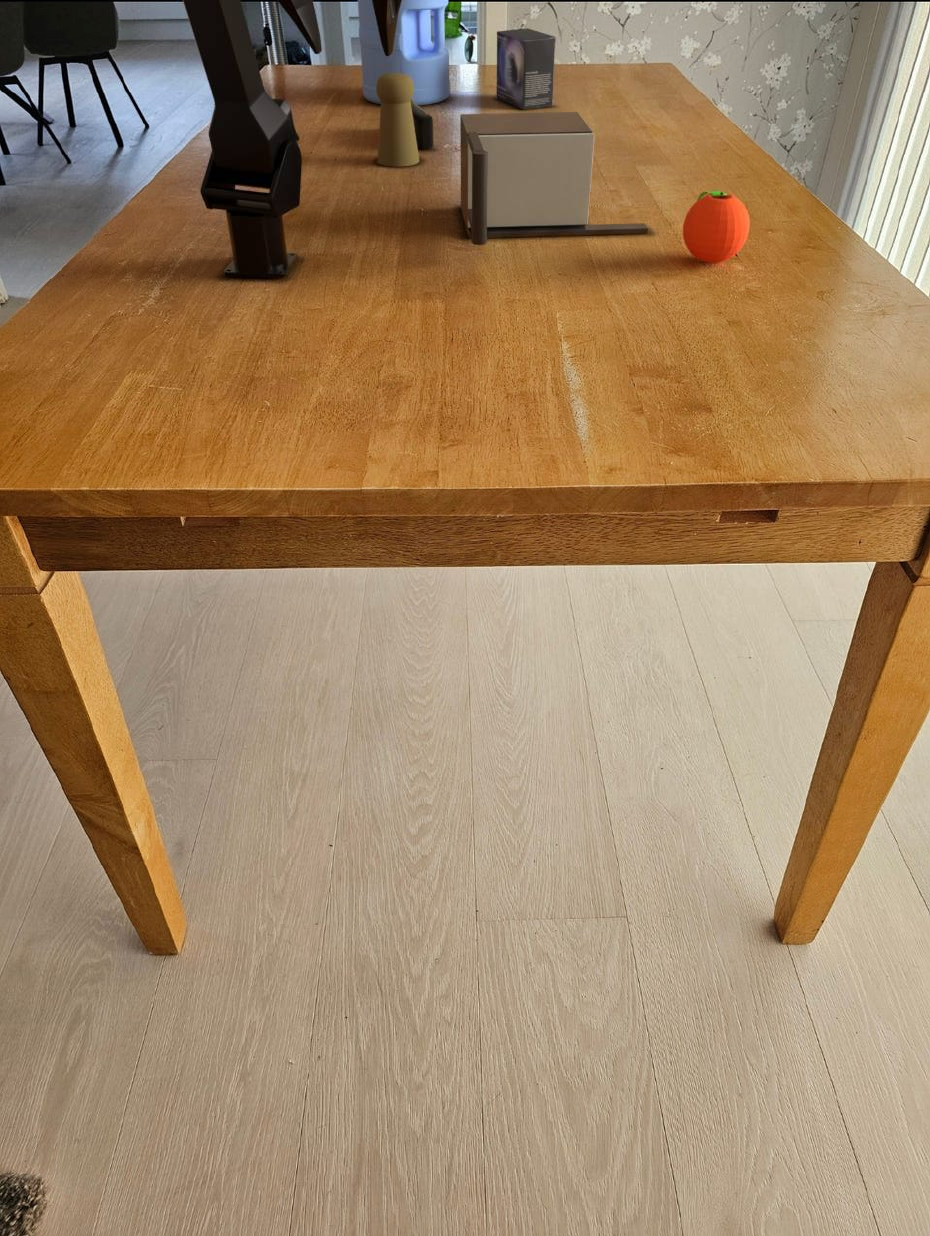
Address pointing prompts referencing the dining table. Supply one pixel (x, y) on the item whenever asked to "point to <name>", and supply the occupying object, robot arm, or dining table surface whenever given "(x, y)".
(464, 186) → the cabinet
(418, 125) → the mobile phone
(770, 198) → the dining table surface
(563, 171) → the sliding door
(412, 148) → the cork
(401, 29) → the water jug
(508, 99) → the small box
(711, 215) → the clementine
